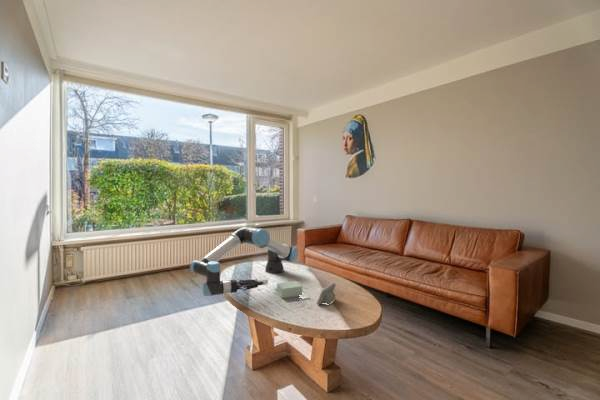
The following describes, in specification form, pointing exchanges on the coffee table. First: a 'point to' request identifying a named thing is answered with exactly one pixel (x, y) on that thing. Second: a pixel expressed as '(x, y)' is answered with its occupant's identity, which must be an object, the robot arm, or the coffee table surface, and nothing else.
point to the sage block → (289, 289)
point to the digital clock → (327, 294)
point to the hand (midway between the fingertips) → (267, 281)
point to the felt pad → (292, 298)
